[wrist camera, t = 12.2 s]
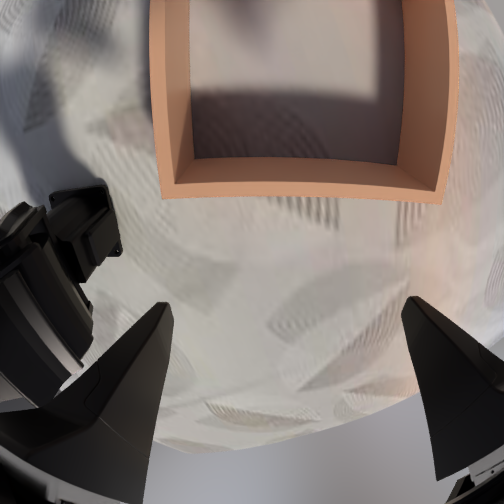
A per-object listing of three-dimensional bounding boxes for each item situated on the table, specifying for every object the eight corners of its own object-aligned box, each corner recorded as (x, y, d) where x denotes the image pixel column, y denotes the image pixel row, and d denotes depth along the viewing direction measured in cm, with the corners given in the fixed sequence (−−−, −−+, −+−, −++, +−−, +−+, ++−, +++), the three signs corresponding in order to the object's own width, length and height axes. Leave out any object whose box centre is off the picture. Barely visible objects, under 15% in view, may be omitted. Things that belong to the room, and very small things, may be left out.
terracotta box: (184, 170, 19) (162, 199, 14) (179, -37, 10) (156, -69, 5) (403, 176, 19) (441, 204, 14) (407, -15, 10) (447, -32, 5)
